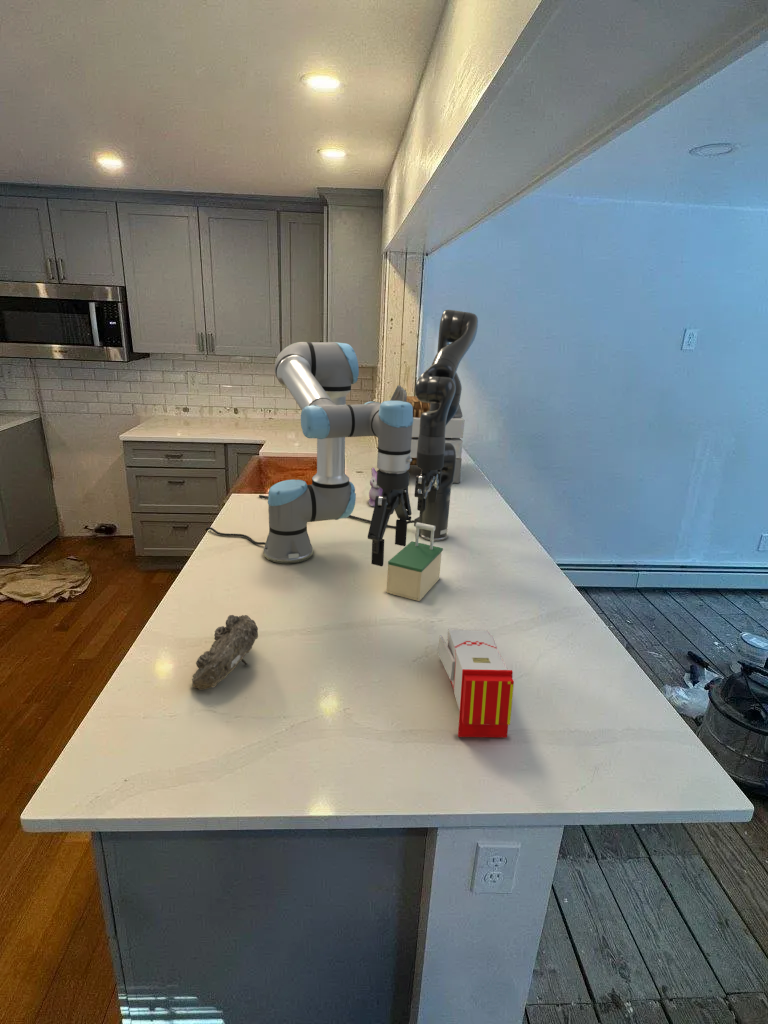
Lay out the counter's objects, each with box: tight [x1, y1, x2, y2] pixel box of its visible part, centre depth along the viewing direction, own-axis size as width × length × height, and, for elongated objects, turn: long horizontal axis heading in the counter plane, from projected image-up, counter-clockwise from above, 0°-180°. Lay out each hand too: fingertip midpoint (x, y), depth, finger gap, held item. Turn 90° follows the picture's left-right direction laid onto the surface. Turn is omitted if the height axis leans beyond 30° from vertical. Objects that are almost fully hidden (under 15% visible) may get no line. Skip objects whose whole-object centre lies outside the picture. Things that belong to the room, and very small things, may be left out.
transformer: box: [389, 384, 465, 484], centre depth 268 cm, size 34×33×41 cm
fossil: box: [191, 614, 259, 691], centre depth 123 cm, size 22×10×15 cm
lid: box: [387, 522, 444, 572], centre depth 159 cm, size 17×10×8 cm, turn 155°
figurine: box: [367, 467, 383, 507], centre depth 227 cm, size 9×10×15 cm
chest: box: [386, 552, 442, 602], centre depth 162 cm, size 16×10×9 cm, turn 155°
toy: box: [437, 628, 515, 738], centre depth 117 cm, size 12×13×30 cm
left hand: (389, 554), depth 137 cm, fingers open, 13 cm apart
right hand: (426, 506), depth 161 cm, fingers open, 8 cm apart
